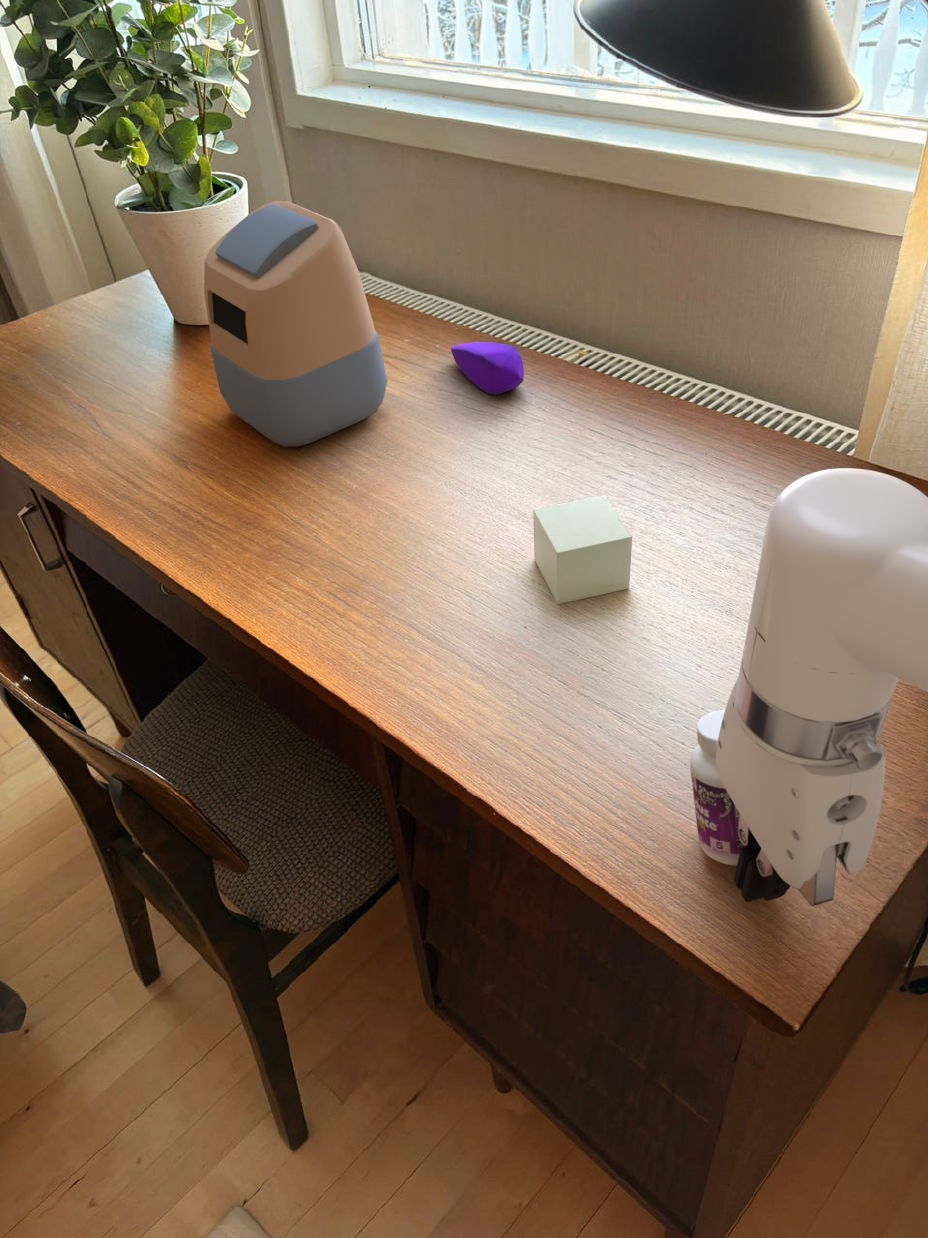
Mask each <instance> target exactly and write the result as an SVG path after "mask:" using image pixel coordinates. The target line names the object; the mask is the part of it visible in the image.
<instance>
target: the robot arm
mask: <svg viewBox="0 0 928 1238" xmlns="http://www.w3.org/2000/svg"><path fill="white" fill-rule="evenodd" d="M748 619H749V620H748V624H747V630H746V634H745V640H744V645H743V650H742V656H741V662H740V665H739V673H738V676H737V678H736V680H735V682H734V685H733V687H732V689H731V692H730V694H729V698H728V699H727V702H726V705H725V708H724V709H725V712H724V715H723V719H722V723H721V727H720V732H719V737H718V742H717V750H716V769H717V772H718V775H719V777H720V779H721V782H722V783H723V785H724V787H725V789H726V791H727V792H728V794H729V796H730V798H731V799H732V801H733V803H734V804H735V806H736V808H737V809H738V811H739V822H738V835H739V838H740V840H741V842H742V844H743V845H744V846H745V847H743V848H741V850H740V854H739V859H738V863H737V865H736V868H735V872H734V877H733V883H734V884H735V886H736V889H740V891H741V897H742V898H743V900H744V902H745V903H750V902H753V901H758V900H761V899H763V900H764V901H768V902H769V901H773V900H777V899H779V898H781V897H783V896H784V895H785V894H786V893H787V891H788V890H789V889H790V888H791V887H793V888H795V889H797V890H798V891H799V893H800V894H801V896H802V897H803V898H804V899H805V901H806V902H807V903H808V904H809V905H810V906H811V907H815V906H819V905H822V904H826V903H829V902H831V901H833V900H834V895H835V885H836V872H837V871H836V870H837V859H838V862H840V864H841V865H842V867H843V869H844V870H845V871H846V873H847V875H849V876H850V875H854V874H855V873H858V872H860V871H862V870H863V868H864V866H865V865H866V863H867V860H868V858H869V855H870V852H871V848H872V845H873V842H874V838H875V834H876V831H877V827H878V823H879V819H880V815H881V808H882V804H883V798H884V791H885V779H886V778H885V777H886V752H885V750H884V747H883V746H882V744H881V742H880V740H879V737H880V735H881V732H882V729H883V726H884V723H885V720H886V718H887V715H888V713H889V710H890V706H891V703H892V700H893V697H894V694H895V692H896V687H897V685H898V682H899V680H902V681H904V682H906V683H908V684H910V685H911V686H913V687H916V688H918V689H920V690H922V691H924V692H926V693H928V496H927V495H925V493H923V492H922V491H921V490H919V489H918V488H916V487H915V486H913V485H911V484H910V483H908V482H906V481H904V480H902V479H900V478H898V477H896V476H893V475H890V474H887V473H883V472H879V471H877V470H870V469H863V468H852V467H844V468H843V467H841V468H829V469H823V470H819V471H816V472H812V473H809V474H806V475H804V476H802V477H800V478H798V479H796V480H795V481H793V482H792V483H791V484H789V485H788V486H787V487H785V488H784V489H783V490H782V491H781V492H780V494H779V495H778V496H777V498H776V499H775V500H774V502H773V505H772V506H771V508H770V510H769V514H768V517H767V521H766V525H765V530H764V535H763V541H762V546H761V551H760V557H759V562H758V569H757V574H756V579H755V584H754V591H753V596H752V603H751V607H750V614H749V618H748Z"/></svg>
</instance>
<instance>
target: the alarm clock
mask: <svg viewBox="0 0 928 1238" xmlns="http://www.w3.org/2000/svg"><path fill="white" fill-rule="evenodd" d="M203 275H204V280H203V281H204V285H203V288H204V289H203V290H204V291H203V294H204V295H203V296H204V301H205V309H206V314H207V321H208V326H209V333H210V339H211V340H210V341H211V344H210V346H209V347H210V352H211V356H212V360H213V361H212V362H213V364H214V371H215V375H216V380H217V385H218V388H219V392H220V395H221V396H222V398H223V400H224V401H225V403H226V404H227V406H228V408H229V409H230V411H231V412H233V413H234V414H235V415H236V416H237V417H239V418H240V419H241V420H243V421H244V422H245V423H247V424H248V425H250V426H251V427H252V428H253V429H255V430H256V431H257V432H259V433H261V434H262V435H263V436H265V438H267V439H269V440H270V441H271V442H273V444H277V445H278V446H279V445H280V446H282V447H302V446H306V445H309V444H312V443H314V442H317V441H318V440H321V439H323V438H325V437H329V436H330V435H332V434H335V433H336V432H339V431H342V430H343V429H346V428H348V427H350V426H352V425H355V424H357V423H359V422H361V421H364V420H366V419H367V418H369V417H370V416H371V415H373V414H374V413H376V411H377V410H378V409H379V408H380V406H381V405H382V404H383V401H384V398H385V395H386V389H387V386H388V378H387V377H388V376H387V372H386V368H385V362H384V356H383V351H382V346H381V342H380V337H379V333H378V332H377V331H376V329H375V325H374V321H373V318H372V314H371V310H370V307H369V303H368V300H367V296H366V292H365V289H364V285H363V282H362V278H361V275H360V272H359V269H358V267H357V264H356V262H355V259H354V257H353V255H352V252H351V249H350V248H349V245H348V242H347V239H346V238H345V235H344V233H343V231H342V229H341V227H340V226H339V225H338V223H336V221H335V220H333V219H331V218H329V217H326V216H324V215H321V214H319V213H317V212H314V211H312V210H310V209H308V208H305V207H302V206H301V205H298V204H295V203H293V202H292V201H287V200H274V201H271V202H267V203H265V204H262V205H261V206H259V207H257V208H256V209H254V210H252V211H251V212H249V214H247V215H246V216H245V217H244V218H243V219H242V220H240V221H239V222H238V223H237V224H236V225H234V226H233V227H232V228H231V229H230V230H228V231H227V232H226V233H225V234H223V235H222V236H221V237H220V238H219V239H218V240H217V242H215V243H214V245H212V247H211V248H210V249H209V250H208V252H207V254H206V256H205V259H204V274H203Z"/></svg>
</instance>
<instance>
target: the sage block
mask: <svg viewBox="0 0 928 1238" xmlns="http://www.w3.org/2000/svg"><path fill="white" fill-rule="evenodd" d="M532 519H533V520H532V521H533V556H534V557H533V558H534V562H535V564H536V566H537V567H538V569H539V572H540V574H541V576H542V577H543V579H544V581H545V583H546V585H547V587H548V589H549V591H550V593H551V595H552V597H553V599H554V602H555V603H556V605H562V604H566V603H571V602H575V601H579V600H584V599H588V598H592V597H597V596H598V597H599V596H601V595H606V594H610V593H615V592H620V591H624V590H628V589H630V581H631V580H630V579H631V565H632V564H631V563H632V548H633V536H632V534H631V532H630V531H629V530H628V528H627V526H626V525H625V523H624V522H623V520H622V519H621V517H620V516H619V514H618V513H617V511H616V510H615V508H614V507H613V506H612V504H611V503H610V501H609V500H608V498H607V496H606V495H605V494H600V495H594V496H590V497H585V498H581V499H576V500H571V501H567V502H562V503H558V504H552V505H548V506H542V507H538V508H533V509H532Z"/></svg>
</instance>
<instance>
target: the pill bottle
mask: <svg viewBox="0 0 928 1238" xmlns="http://www.w3.org/2000/svg"><path fill="white" fill-rule="evenodd" d="M725 709H726V708H724V709H718V710H714V711H711V712H709V713H707V714H704V715H703V716H702V717H701V718H700V719H699V720H698V721H697V725H696V735H697V743H698V745H697V746H696V747H695V748H694V749H693V751H692V753H691V756H690V761H689V762H690V763H689V765H690V766H689V767H690V776H691V785H692V794H693V804H694V812H695V819H696V829H697V830H696V831H697V836H698V843H699V845H700V848H701V850H702V851H703V852H704V853H705V854H706V856H708V857H709V858H711V859H712V860H713V861H716V862H719V863H722V864H724V865H728V866H737V863H738V859H739V854H740V850H741V848H743V847H745V846H744V845H743V844H742V842H741V840H740V838H739V835H738V822H739V811H738V809H737V808H736V806H735V804H734V803H733V801H732V799H731V798H730V796H729V794H728V792H727V791H726V789H725V787H724V785H723V783H722V782H721V779H720V777H719V775H718V772H717V769H716V750H717V742H718V737H719V732H720V727H721V723H722V719H723V715H724V712H725Z"/></svg>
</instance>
